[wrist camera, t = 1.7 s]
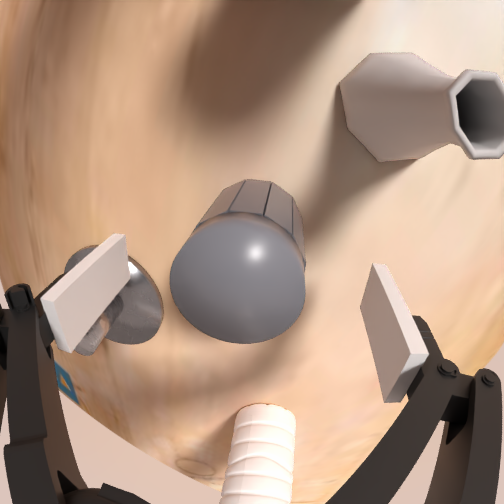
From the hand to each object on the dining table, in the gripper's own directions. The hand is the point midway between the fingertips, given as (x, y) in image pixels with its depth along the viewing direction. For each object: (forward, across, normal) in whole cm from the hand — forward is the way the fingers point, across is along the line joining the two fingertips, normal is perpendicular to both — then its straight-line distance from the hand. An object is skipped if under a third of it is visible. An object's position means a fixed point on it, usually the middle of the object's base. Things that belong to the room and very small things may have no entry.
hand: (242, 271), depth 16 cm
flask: (+6, +8, +10) cm, 14 cm away
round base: (+6, -12, -8) cm, 15 cm away
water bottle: (+6, +4, -22) cm, 23 cm away
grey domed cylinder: (+6, 0, 0) cm, 6 cm away
